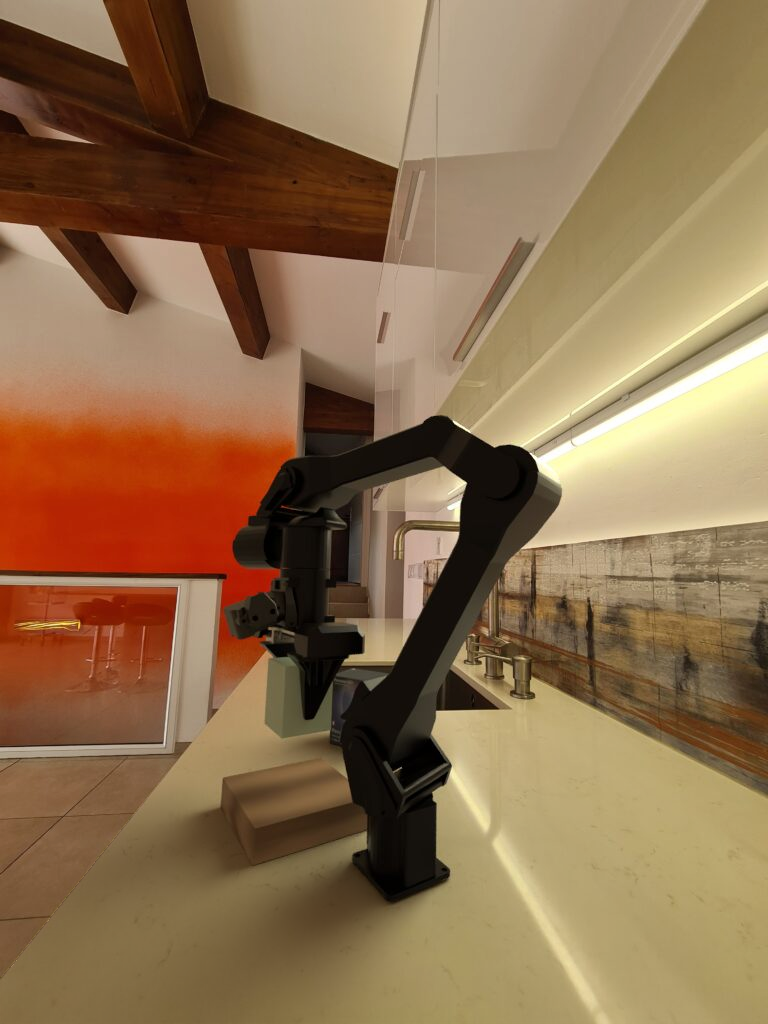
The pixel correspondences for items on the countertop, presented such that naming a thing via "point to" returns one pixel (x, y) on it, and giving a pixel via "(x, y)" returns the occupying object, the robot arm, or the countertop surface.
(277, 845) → the walnut block
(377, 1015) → the countertop surface
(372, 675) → the small box
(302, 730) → the sage block
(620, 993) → the countertop surface
